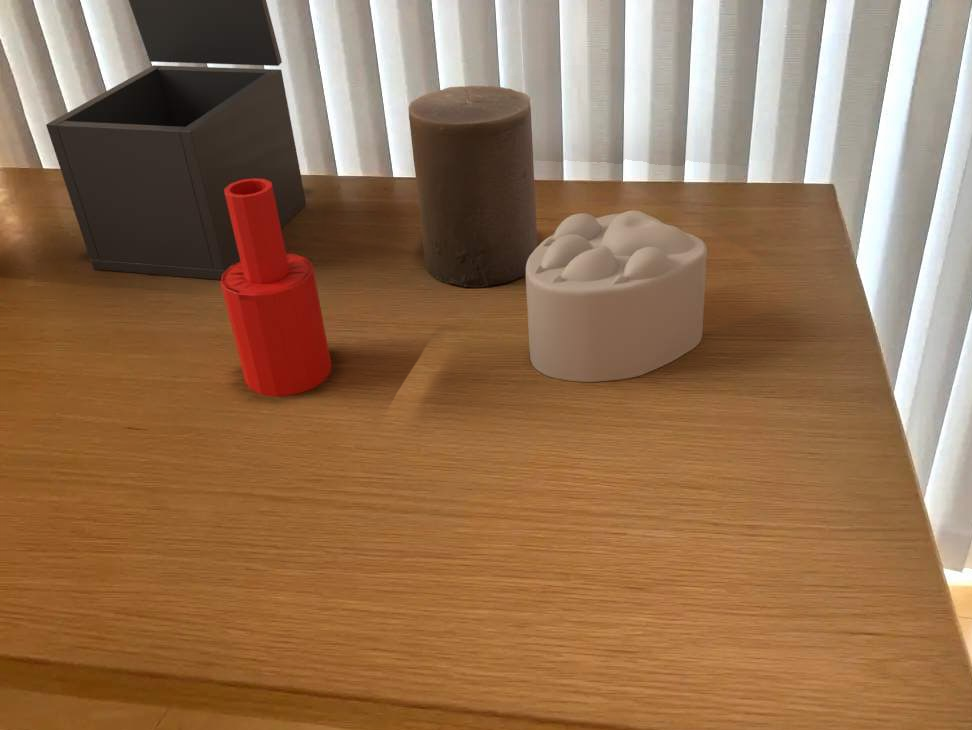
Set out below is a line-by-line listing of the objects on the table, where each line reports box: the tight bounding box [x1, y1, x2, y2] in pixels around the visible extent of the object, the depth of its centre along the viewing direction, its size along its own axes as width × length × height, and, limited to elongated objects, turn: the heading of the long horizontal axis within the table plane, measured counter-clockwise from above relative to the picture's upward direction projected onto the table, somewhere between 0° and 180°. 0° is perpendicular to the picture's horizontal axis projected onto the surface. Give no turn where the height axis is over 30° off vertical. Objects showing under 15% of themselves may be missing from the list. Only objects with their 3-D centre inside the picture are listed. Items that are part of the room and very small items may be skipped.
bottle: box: [220, 178, 332, 397], centre depth 67 cm, size 6×6×15 cm
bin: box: [45, 64, 307, 281], centre depth 89 cm, size 16×13×13 cm
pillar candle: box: [408, 85, 539, 288], centre depth 82 cm, size 10×10×15 cm
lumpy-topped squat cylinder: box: [525, 210, 708, 383], centre depth 72 cm, size 10×13×9 cm
